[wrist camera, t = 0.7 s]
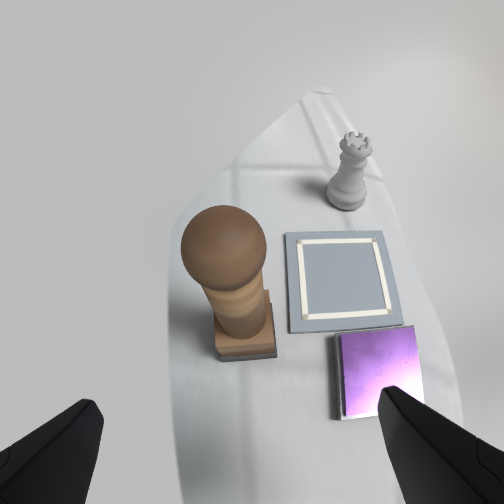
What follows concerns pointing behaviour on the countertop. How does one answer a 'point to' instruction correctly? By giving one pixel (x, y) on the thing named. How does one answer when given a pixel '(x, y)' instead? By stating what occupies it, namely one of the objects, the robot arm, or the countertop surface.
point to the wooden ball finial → (232, 280)
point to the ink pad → (374, 368)
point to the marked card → (340, 282)
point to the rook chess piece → (350, 173)
